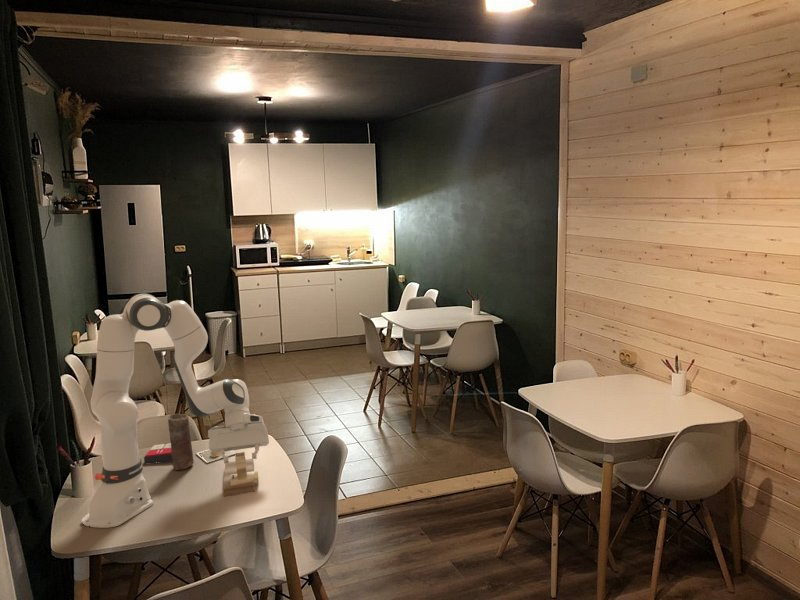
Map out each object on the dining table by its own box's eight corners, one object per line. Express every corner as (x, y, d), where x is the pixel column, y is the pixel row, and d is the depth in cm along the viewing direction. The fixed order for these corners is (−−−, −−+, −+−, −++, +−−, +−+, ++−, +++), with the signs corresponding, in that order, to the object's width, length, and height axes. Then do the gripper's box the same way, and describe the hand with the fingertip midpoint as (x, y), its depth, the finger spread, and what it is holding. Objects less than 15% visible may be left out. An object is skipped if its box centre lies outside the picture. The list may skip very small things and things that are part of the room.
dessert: (195, 455, 247) (194, 444, 246) (225, 446, 254) (223, 435, 253) (206, 465, 238) (205, 453, 237) (237, 455, 245) (235, 444, 244)
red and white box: (152, 444, 251) (190, 439, 251) (154, 454, 252) (192, 449, 252) (142, 455, 240) (182, 451, 241) (145, 466, 241) (184, 461, 241)
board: (254, 491, 213) (253, 484, 213) (224, 496, 211) (223, 489, 211) (253, 464, 234) (253, 458, 234) (226, 469, 232) (225, 462, 232)
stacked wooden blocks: (258, 484, 215) (255, 456, 213) (230, 489, 213) (227, 460, 212) (258, 477, 221) (255, 449, 219) (231, 481, 219) (228, 453, 217)
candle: (184, 461, 241) (177, 411, 238) (198, 463, 238) (192, 413, 234) (169, 469, 235) (162, 418, 231) (183, 472, 231) (177, 421, 228)
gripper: (206, 423, 219) (207, 461, 211) (266, 415, 223) (269, 452, 216) (208, 431, 224) (210, 468, 216) (267, 423, 228) (270, 459, 221)
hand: (240, 460), depth 216 cm, fingers open, 8 cm apart
